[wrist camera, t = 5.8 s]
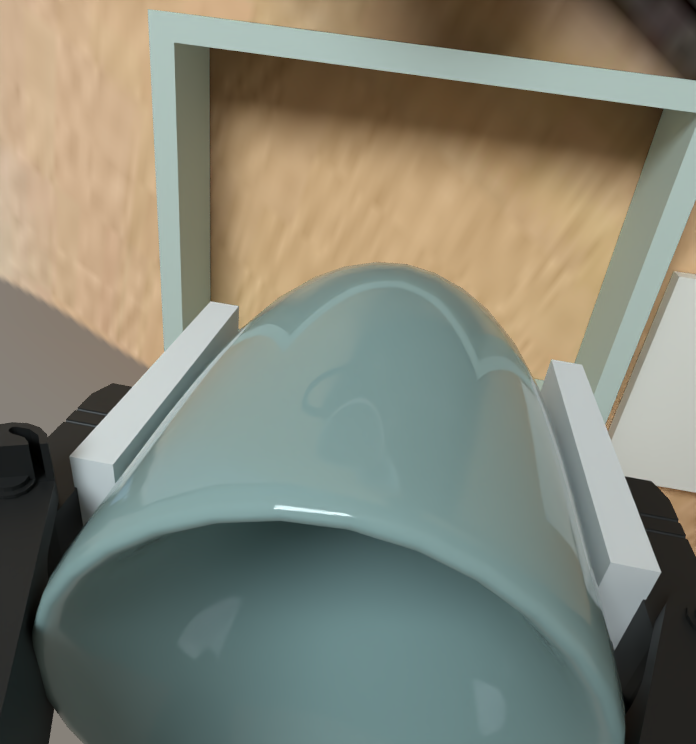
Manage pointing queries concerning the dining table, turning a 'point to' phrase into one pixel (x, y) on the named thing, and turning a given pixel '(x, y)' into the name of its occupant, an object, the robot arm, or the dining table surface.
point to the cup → (340, 544)
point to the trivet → (662, 396)
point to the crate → (198, 33)
